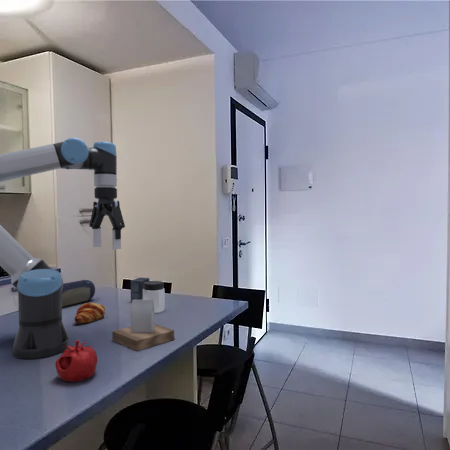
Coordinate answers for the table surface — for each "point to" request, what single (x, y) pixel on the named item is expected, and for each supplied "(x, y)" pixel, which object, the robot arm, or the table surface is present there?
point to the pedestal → (143, 337)
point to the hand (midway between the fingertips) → (106, 248)
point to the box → (137, 288)
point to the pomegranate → (76, 363)
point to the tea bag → (142, 316)
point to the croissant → (89, 312)
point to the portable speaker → (77, 292)
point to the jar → (155, 294)
